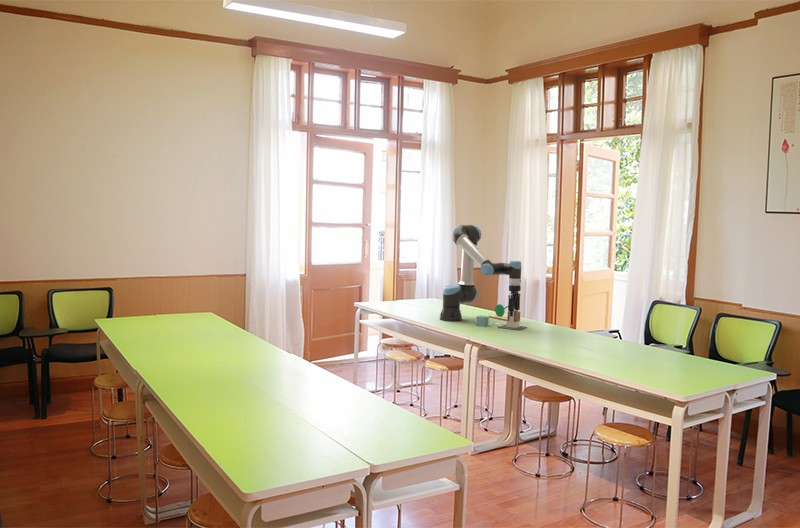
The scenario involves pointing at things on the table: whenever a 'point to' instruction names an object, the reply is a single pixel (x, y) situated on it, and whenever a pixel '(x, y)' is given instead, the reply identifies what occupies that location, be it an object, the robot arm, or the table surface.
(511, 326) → the mat
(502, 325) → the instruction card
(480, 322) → the teal brick
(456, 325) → the table surface
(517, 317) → the walnut brick
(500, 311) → the crank mechanism
